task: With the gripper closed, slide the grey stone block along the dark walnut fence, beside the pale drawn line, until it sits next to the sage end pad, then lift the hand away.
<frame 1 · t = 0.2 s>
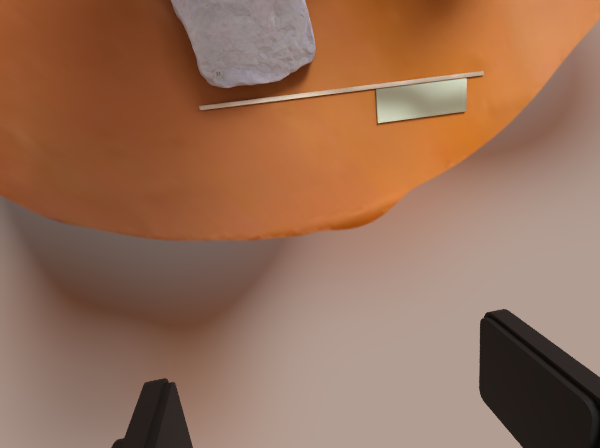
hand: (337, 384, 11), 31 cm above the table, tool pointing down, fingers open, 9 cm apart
guide rig: (342, 25, 37), on the table
stone block: (249, 34, 36), on the table
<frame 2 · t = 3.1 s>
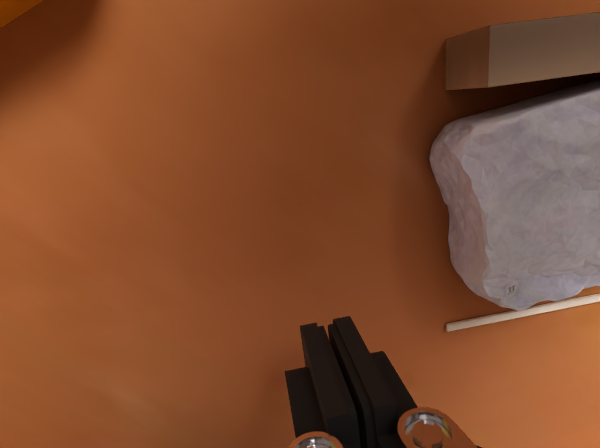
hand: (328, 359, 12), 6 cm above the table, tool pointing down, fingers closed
stone block: (542, 189, 19), on the table
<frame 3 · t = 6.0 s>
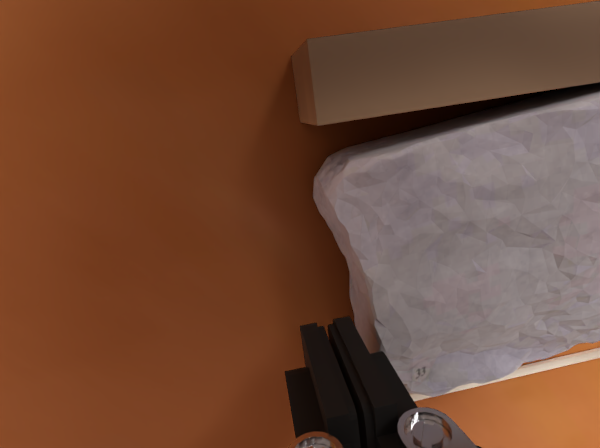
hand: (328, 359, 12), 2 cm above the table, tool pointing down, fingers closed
stone block: (473, 234, 15), on the table, touching gripper
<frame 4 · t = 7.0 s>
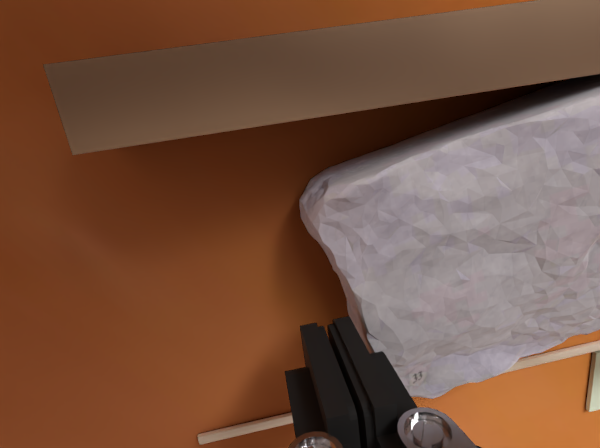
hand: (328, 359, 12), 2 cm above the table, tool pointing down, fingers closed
guide rig: (541, 235, 15), on the table
stone block: (462, 236, 15), on the table, touching gripper
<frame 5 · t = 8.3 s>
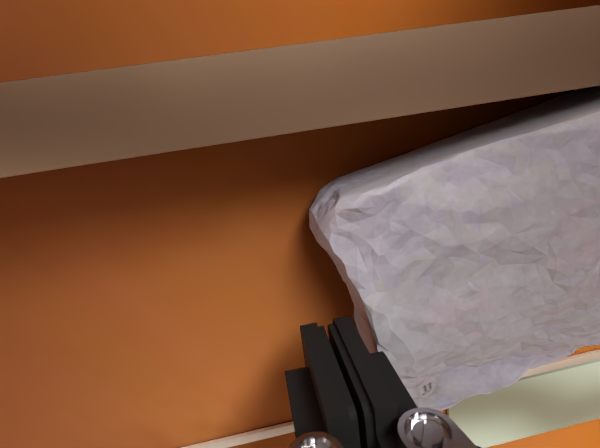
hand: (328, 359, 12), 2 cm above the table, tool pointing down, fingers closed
guide rig: (368, 278, 14), on the table
stone block: (470, 246, 15), on the table, touching gripper
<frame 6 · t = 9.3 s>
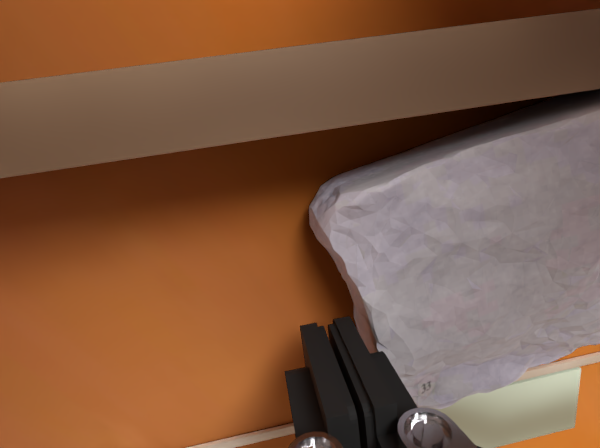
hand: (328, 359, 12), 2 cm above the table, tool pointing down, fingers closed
guide rig: (276, 298, 14), on the table
stone block: (470, 244, 15), on the table, touching guide rig
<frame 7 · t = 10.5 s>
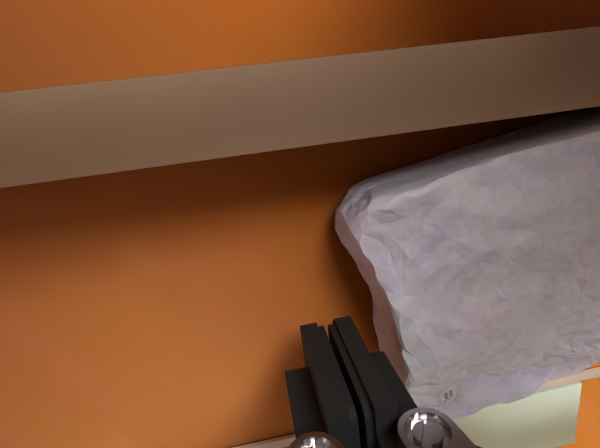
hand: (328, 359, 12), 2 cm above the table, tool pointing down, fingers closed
guide rig: (275, 309, 14), on the table
stone block: (491, 253, 15), on the table
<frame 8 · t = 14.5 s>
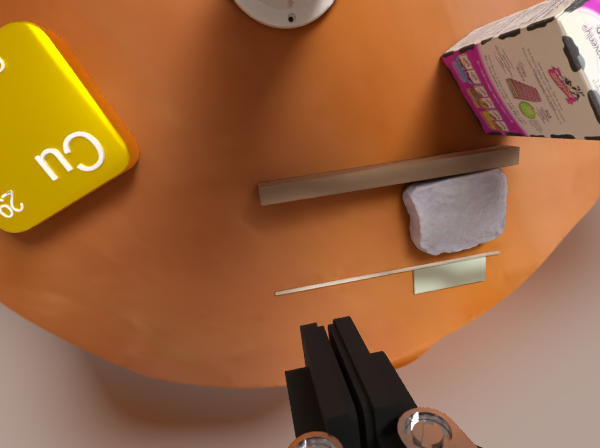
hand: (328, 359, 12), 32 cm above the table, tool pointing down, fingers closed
candy bar box: (478, 83, 43), on the table
guide rig: (388, 227, 46), on the table
element tile: (42, 131, 39), on the table
stone block: (447, 209, 48), on the table
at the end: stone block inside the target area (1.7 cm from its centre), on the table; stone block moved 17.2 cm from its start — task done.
